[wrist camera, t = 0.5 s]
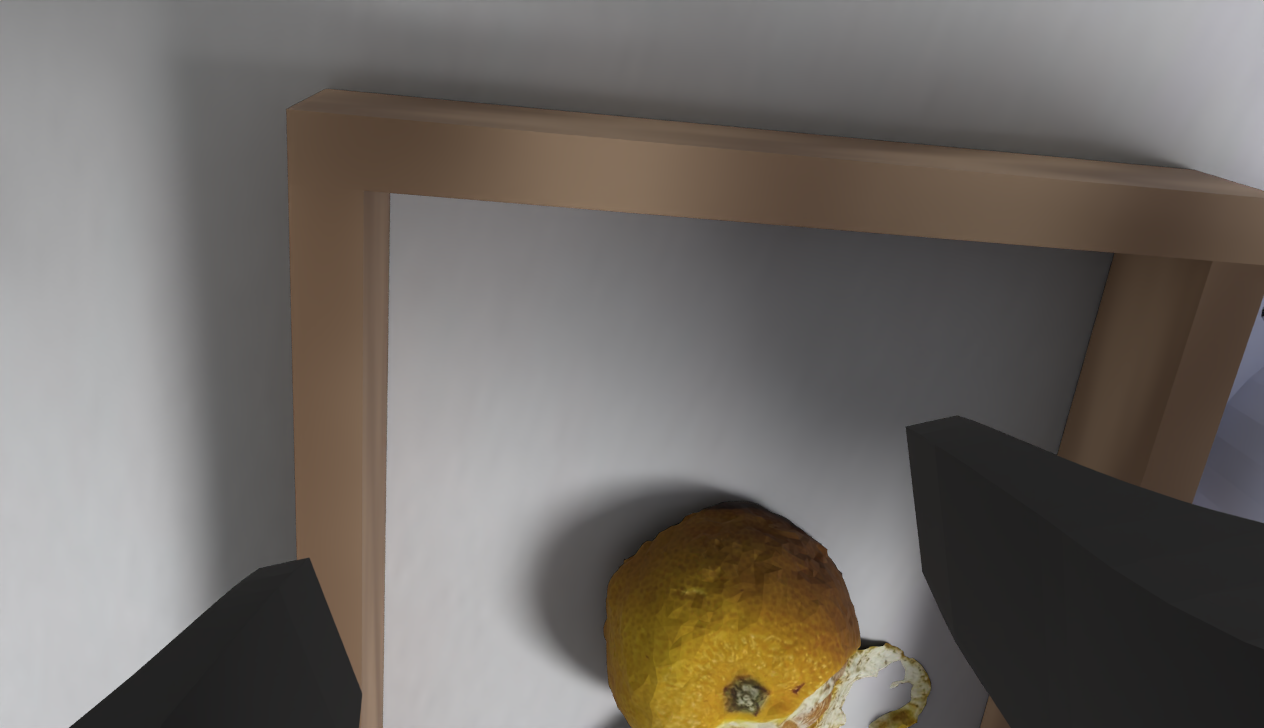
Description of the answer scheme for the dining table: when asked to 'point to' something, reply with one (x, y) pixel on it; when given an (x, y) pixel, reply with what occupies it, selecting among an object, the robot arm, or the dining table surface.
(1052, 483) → the robot arm
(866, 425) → the dining table surface
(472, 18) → the dining table surface
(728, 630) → the fruit
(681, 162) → the open wooden frame
